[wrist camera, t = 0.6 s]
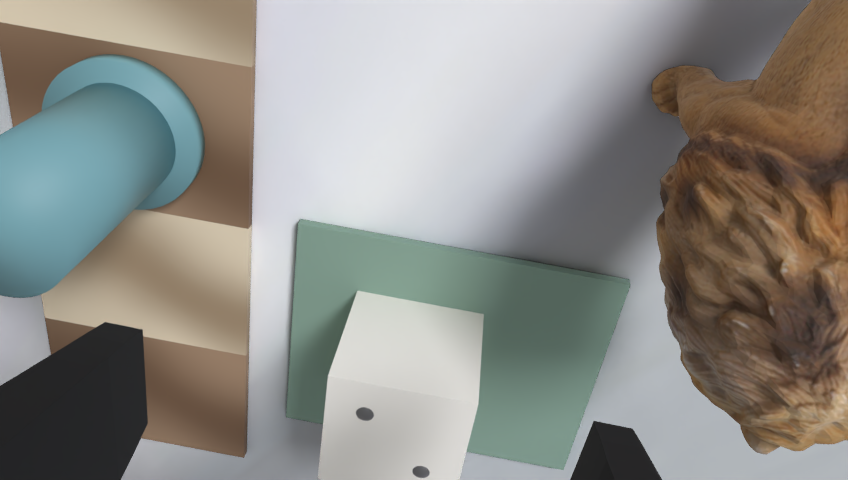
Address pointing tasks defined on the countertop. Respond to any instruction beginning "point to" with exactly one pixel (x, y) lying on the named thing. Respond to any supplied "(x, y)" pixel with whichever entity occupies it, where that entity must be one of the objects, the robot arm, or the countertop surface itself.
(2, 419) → the robot arm
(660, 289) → the countertop surface
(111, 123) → the pawn
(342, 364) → the die
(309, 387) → the felt pad
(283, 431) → the countertop surface
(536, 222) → the countertop surface
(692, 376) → the lion figurine
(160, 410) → the track
